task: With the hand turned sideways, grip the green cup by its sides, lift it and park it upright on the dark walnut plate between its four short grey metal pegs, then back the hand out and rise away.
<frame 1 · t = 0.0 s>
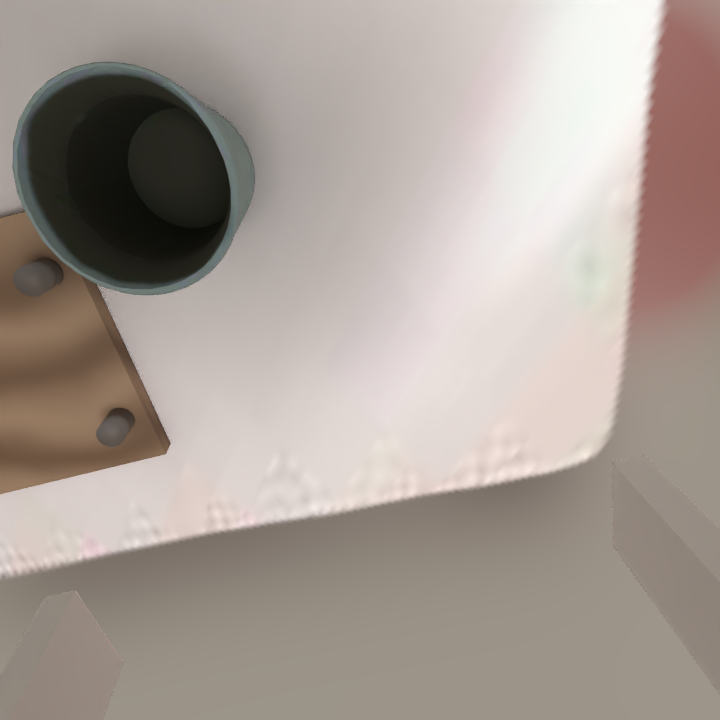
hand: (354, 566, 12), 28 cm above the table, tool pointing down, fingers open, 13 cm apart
green cup: (187, 170, 34), on the table
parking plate: (19, 361, 39), on the table
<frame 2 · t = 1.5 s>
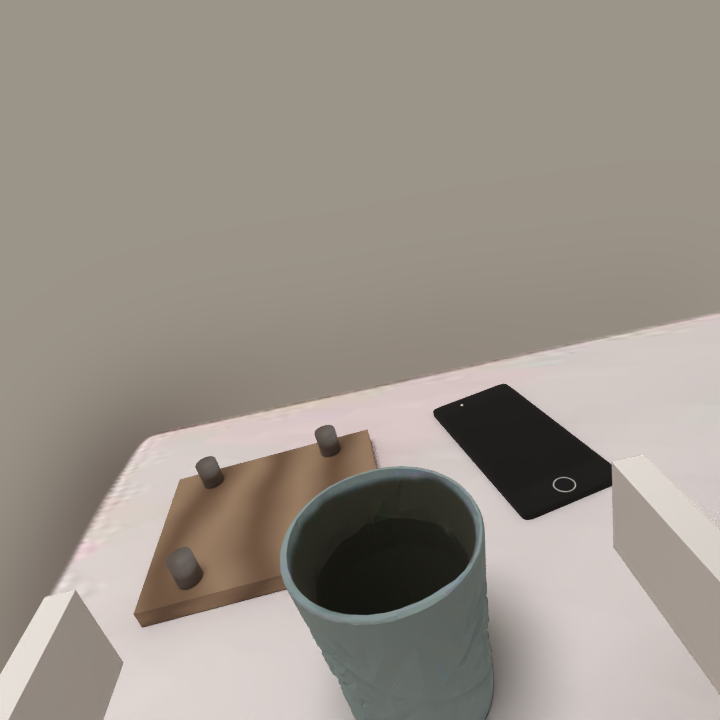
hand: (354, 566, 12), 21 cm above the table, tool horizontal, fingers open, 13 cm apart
green cup: (423, 678, 30), on the table
cell phone: (514, 446, 48), on the table
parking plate: (274, 519, 46), on the table
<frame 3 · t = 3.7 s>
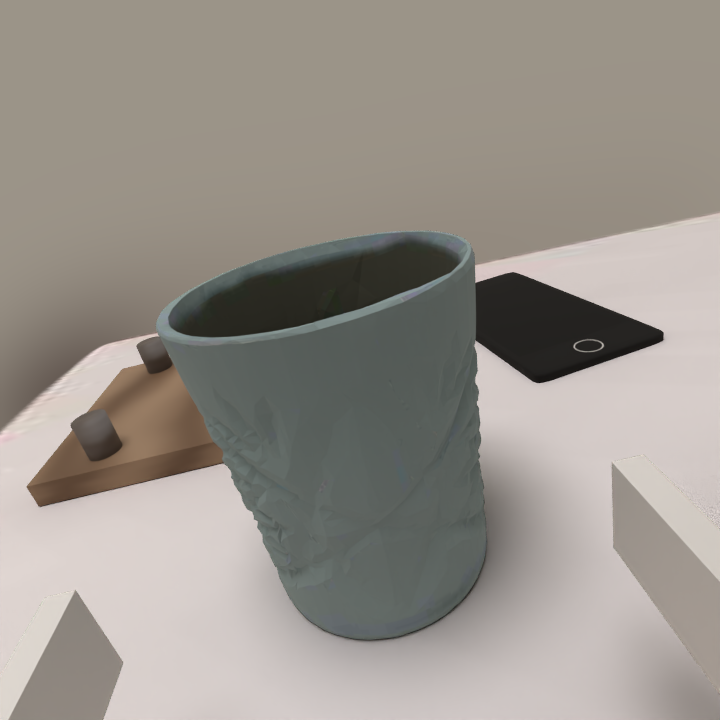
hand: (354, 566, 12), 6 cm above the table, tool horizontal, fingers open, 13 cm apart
green cup: (388, 545, 22), on the table
cell phone: (523, 325, 39), on the table
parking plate: (224, 401, 37), on the table
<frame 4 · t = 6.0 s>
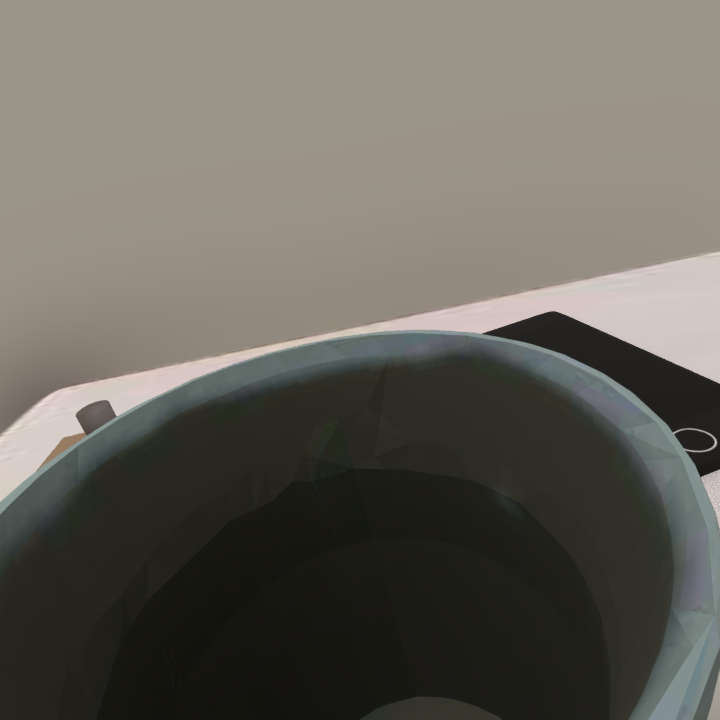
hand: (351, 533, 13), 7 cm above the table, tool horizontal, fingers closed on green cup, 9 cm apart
cell phone: (581, 390, 29), on the table
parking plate: (186, 497, 28), on the table
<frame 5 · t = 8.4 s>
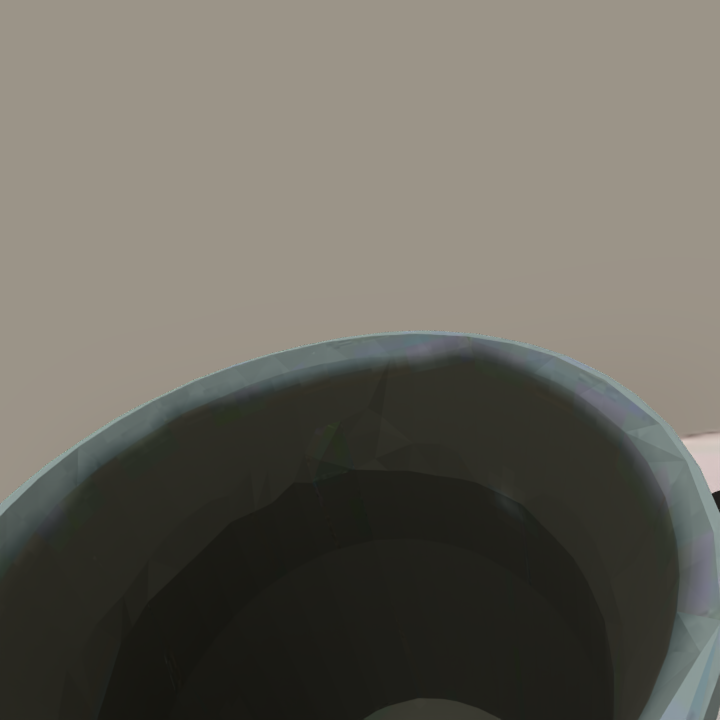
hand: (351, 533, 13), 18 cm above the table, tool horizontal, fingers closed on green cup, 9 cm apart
when the fingers open (9 cm above the table, at t = 11.1 s): green cup drops 1 cm, resting on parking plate.
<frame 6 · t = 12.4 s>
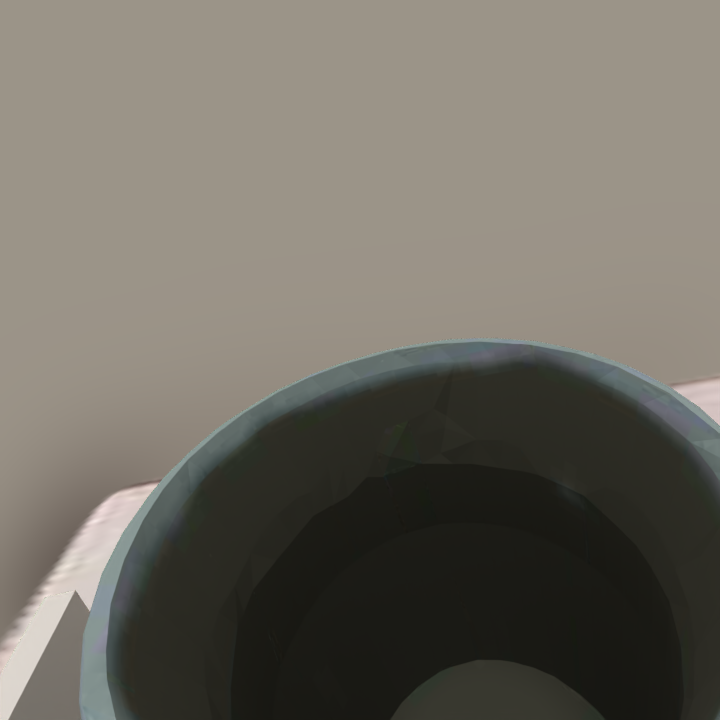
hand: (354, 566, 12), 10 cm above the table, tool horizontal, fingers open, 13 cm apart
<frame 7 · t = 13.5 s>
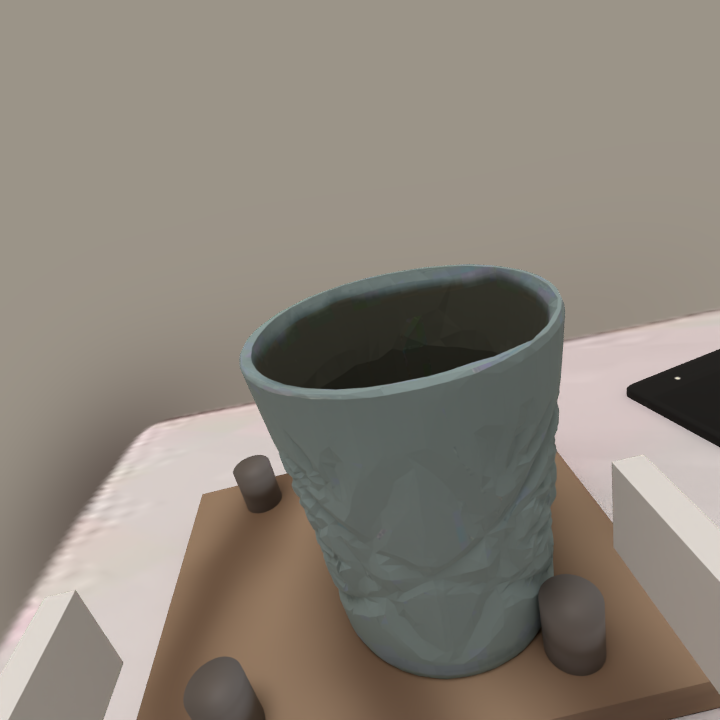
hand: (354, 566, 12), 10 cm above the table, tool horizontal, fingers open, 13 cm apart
green cup: (450, 578, 21), point 1 cm above the table, touching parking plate
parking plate: (388, 579, 24), on the table
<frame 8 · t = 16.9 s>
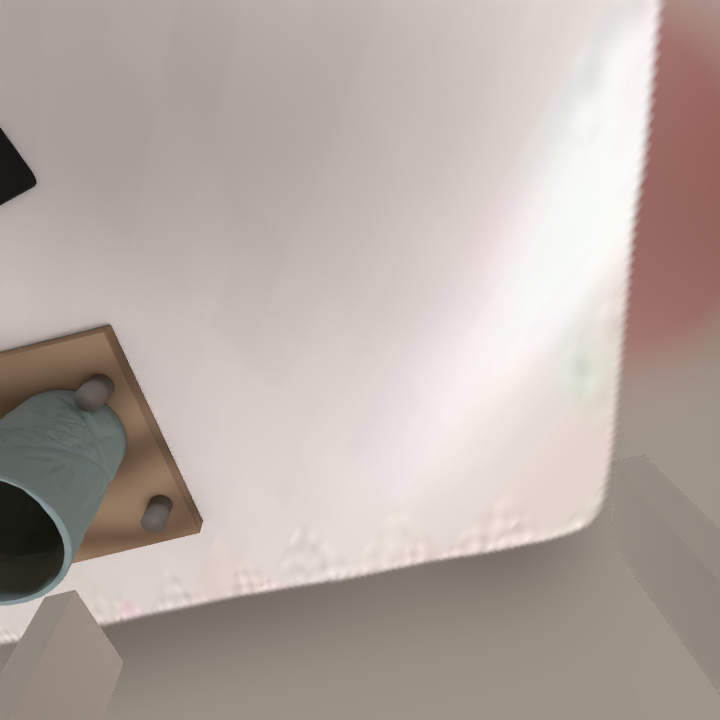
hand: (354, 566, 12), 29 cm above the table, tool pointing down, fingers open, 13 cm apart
green cup: (70, 432, 41), point 1 cm above the table, touching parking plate
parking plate: (70, 454, 43), on the table
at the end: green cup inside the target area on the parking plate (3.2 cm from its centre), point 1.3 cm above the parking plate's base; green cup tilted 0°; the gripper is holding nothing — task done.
